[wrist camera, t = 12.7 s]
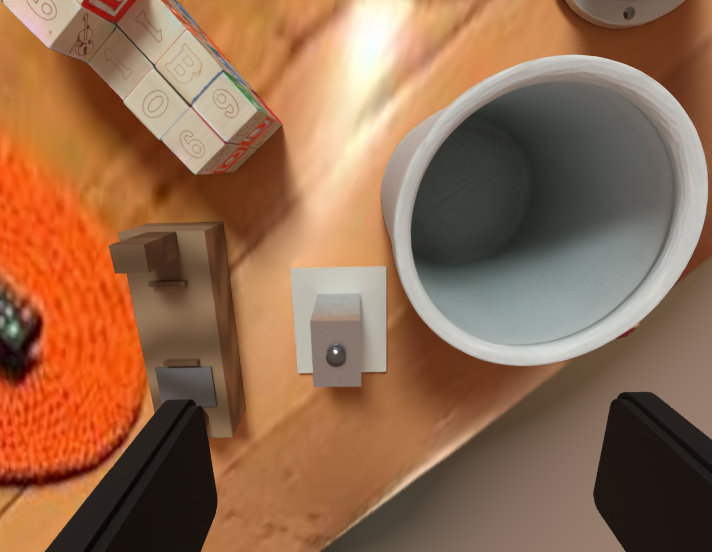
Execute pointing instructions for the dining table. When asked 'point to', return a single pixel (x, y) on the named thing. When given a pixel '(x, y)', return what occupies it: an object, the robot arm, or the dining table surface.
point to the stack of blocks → (160, 74)
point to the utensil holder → (545, 208)
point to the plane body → (185, 317)
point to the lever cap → (336, 340)
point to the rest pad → (342, 281)
